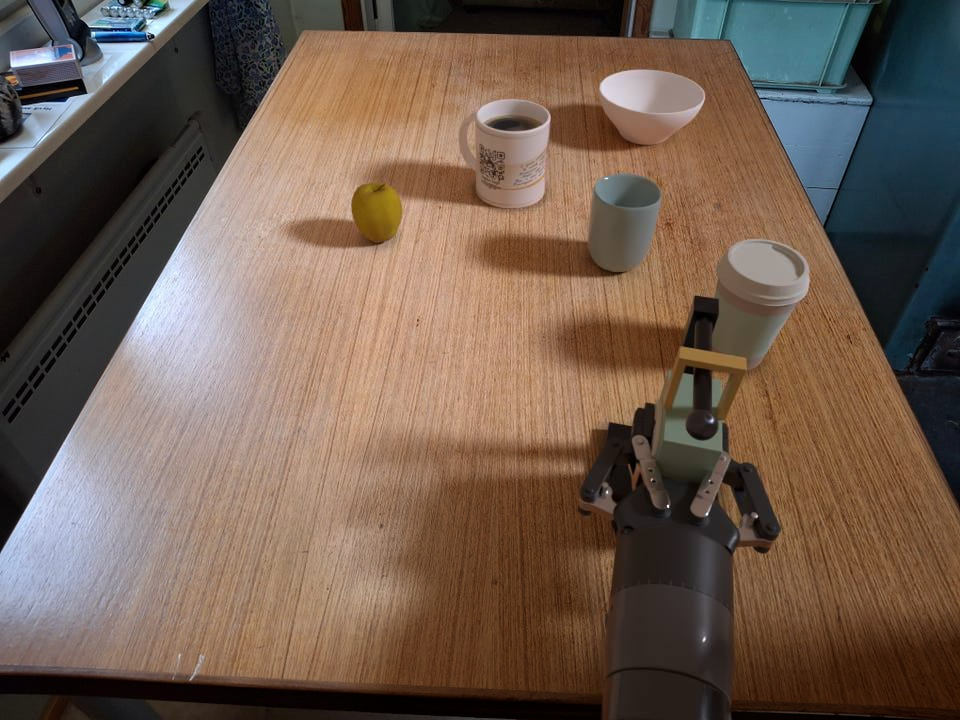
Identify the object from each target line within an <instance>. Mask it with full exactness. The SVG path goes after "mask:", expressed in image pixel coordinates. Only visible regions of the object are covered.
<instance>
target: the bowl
mask: <svg viewBox="0 0 960 720" xmlns="http://www.w3.org/2000/svg"><path fill="white" fill-rule="evenodd" d="M598 98H599V103H600V105H601V107H602V109H603V112H604V113H605V115H606V116H607V118H608V119H609V120H610V122H611V123H612V124H613V125H614V127H615V128H616V130H617V131H618V132H619V135H620V136H621V137H622V138H623V139H624V140H626V141H628V142H630V143H632V144H637V145H642V146H643V145H644V146H653V145H658V144H661V143H663V142H665V141H667V140H668V139H669V138H670V137H671V136H672V135H673V134H675V133H676V132H678V131H679V130H680V129H682V128H684V127H685V126H686V125H688V124H689V123H691V122H692V121H693V120H694V119H695V118H696V117H697V115H698V114H699V112H700V111H701V109H702V107H703V105H704V103H705V100H706V92H705V91H704V89H703V88H702V87H701V85H699V84H698V83H696V82H695V81H693V80H692V79H689V78H687V77H685V76H684V75H680V74H677V73H673V72H669V71H664V70H657V69H655V70H654V69H632V70H624V71H623V70H622V71H620V72H616V73H615V72H614V73H613V74H610V75H609V76H606V77H604V78H603V80H601V82H600V83H599V86H598Z"/></svg>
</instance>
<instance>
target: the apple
mask: <svg viewBox="0 0 960 720" xmlns="http://www.w3.org/2000/svg"><path fill="white" fill-rule="evenodd" d="M350 205H351V206H350V208H351V209H350V210H351V216H352V219H353V221H354V224H355V225H356V227H357V229H358V231H359V232H360V233H361V234H362V236H363V237H364V238H365V239H367V240H368V241H371V242H372V243H376V244H377V243H384V242H388V241H390V240H392V239H393V238H394V237H395V236H396V234H397V233H398V230H399V228H400V224H401V222H402V219H403V204H402V200H401V197H400V195H399V194H398V191H396V189H395V188H393V187H392V186H391V185H389V184H387V183H384V182H368V183H364V184H361V185H359V186H358V187H357V188H356V189H355V190H354V192H353V195H352V197H351V203H350Z"/></svg>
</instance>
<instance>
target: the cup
mask: <svg viewBox="0 0 960 720" xmlns="http://www.w3.org/2000/svg"><path fill="white" fill-rule="evenodd" d="M662 196H663V195H662V191H661V188H660V187H659V185H657V183H656V182H655V181H653V180H651V178H648V177H646V176H643V175H640V174H635V173H612V174H608V175H605V176H602V177H600V178H598V179H597V181H596V182H595V183H594V185H593V187H592V194H591V200H590V208H589V217H588V224H587V246H588V252H589V255H590V257H591V259H592V261H593V262H594V263H595V264H596V265H597V266H598V267H599V268H601V269H603V270H605V271H608V272H613V273H624V272H629V271H632V270H635V269H637V267H639V266H640V265H641V264H642V263H643V262H644V260H645V259H646V257H647V255H648V254H649V251H650V249H651V245H652V242H653V240H654V236H655V232H656V229H657V225H658V220H659V215H660V212H661V206H662V199H663V197H662Z"/></svg>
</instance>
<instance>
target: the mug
mask: <svg viewBox="0 0 960 720" xmlns="http://www.w3.org/2000/svg"><path fill="white" fill-rule="evenodd" d="M551 120H552V119H551V113H550V112H549V109H547V108H546V107H545V106H543V105H541V104H539V103H536V102H534V101H530V100H526V99H517V98H509V99H508V98H505V99H498V100H494V101H491V102H487V103H485V104H483V105H481V106H480V107H479V108H478V110H477V111H476V112H475V111H474V112H473V113H471V114H469V115H468V116H467V117H465V118H464V119H463V120H462V122H461V123H460V126H459V129H458V138H457V139H458V140H457V141H458V148H459V152H460V153H461V156H462V158H463V160H464V162H465V163H466V165H467V166H468V167H469V168H470V169H471V170H472V171H474V172H475V193H476V194H477V196H478V197H479V199H480V200H481V201H483V202H485V203H486V204H488V205H490V206H493V207H497V208H500V209H501V208H502V209H521V208H526V207H530V206H532V205H534V204H536V203H538V202H539V201H540V200H542V198H543V197H544V195H545V193H546V184H547V183H546V182H547V171H548V161H549V160H548V159H549V157H548V156H549V146H550V145H549V144H550V132H551ZM472 122H475V129H474V130H475V131H474V132H475V157H474V154H473V153H472V151H471V148H470V147H469V142H468V131H469V127H470V124H471V123H472Z"/></svg>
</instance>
